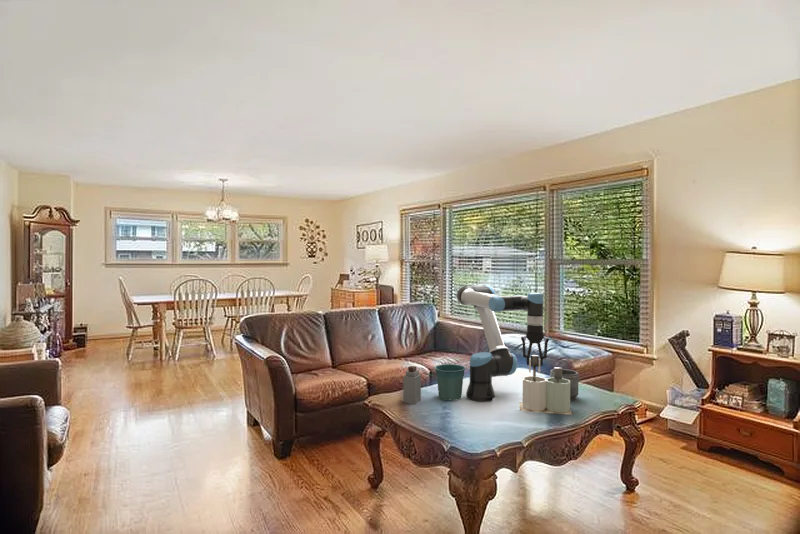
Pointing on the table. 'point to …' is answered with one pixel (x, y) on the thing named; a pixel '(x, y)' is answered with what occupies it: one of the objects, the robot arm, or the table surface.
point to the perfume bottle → (412, 386)
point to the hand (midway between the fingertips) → (534, 371)
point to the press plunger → (534, 365)
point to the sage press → (558, 393)
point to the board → (542, 410)
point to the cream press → (534, 393)
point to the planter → (573, 379)
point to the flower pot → (450, 381)
